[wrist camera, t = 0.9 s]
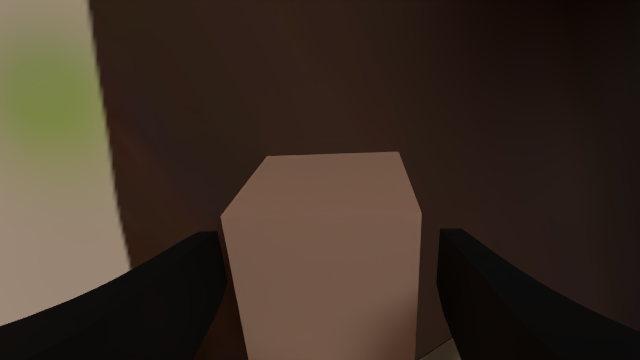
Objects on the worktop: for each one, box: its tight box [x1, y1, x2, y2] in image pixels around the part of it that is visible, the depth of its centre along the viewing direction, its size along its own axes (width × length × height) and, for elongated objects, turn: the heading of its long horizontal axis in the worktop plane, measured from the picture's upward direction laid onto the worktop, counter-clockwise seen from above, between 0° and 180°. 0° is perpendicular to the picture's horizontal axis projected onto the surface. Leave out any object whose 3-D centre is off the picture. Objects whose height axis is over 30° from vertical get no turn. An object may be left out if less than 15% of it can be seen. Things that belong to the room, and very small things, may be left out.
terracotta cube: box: [221, 152, 422, 360], centre depth 12 cm, size 5×5×5 cm
